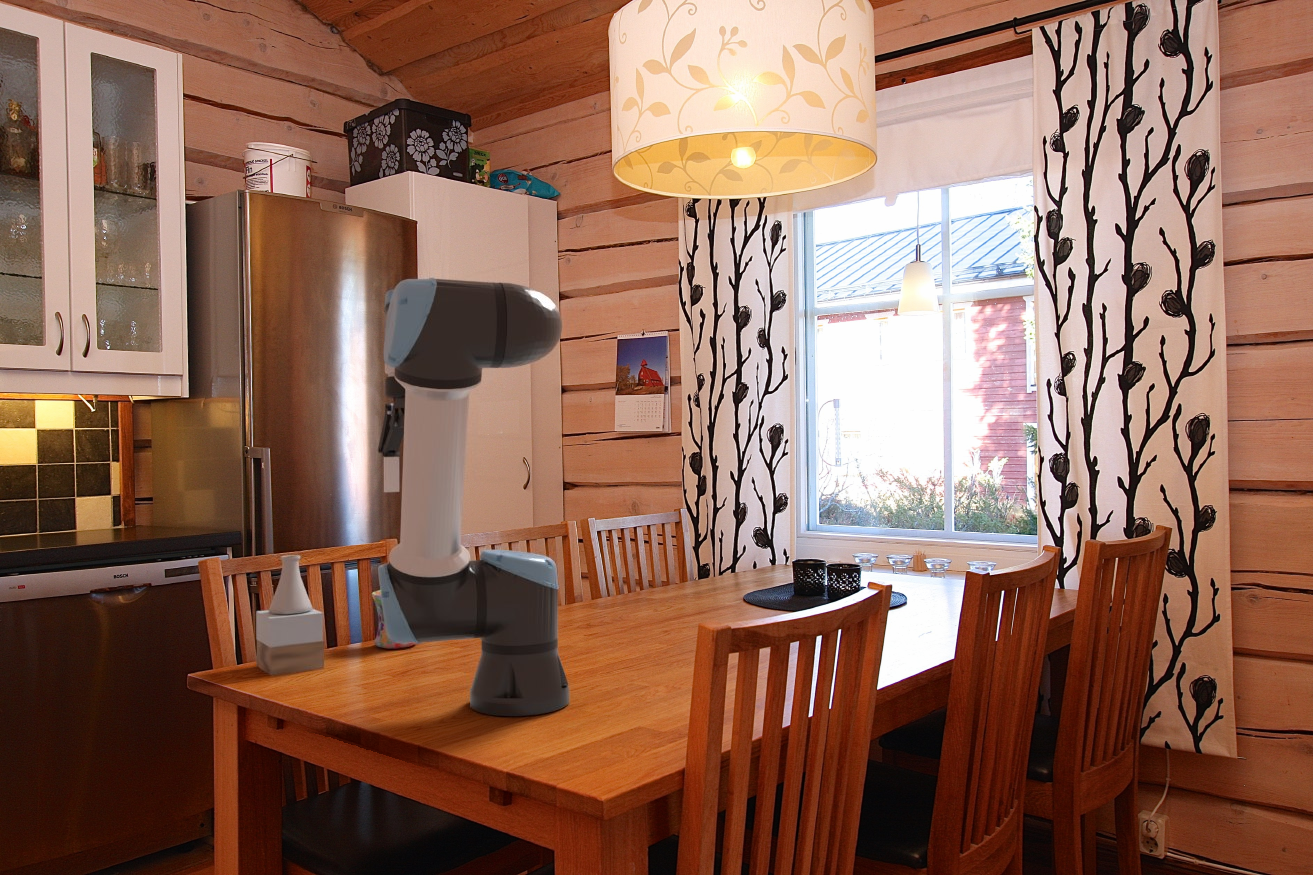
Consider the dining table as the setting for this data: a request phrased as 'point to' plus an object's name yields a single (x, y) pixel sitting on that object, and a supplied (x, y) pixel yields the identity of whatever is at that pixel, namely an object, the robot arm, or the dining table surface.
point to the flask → (290, 589)
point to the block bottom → (290, 658)
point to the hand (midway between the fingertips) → (407, 493)
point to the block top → (289, 628)
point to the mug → (382, 636)
